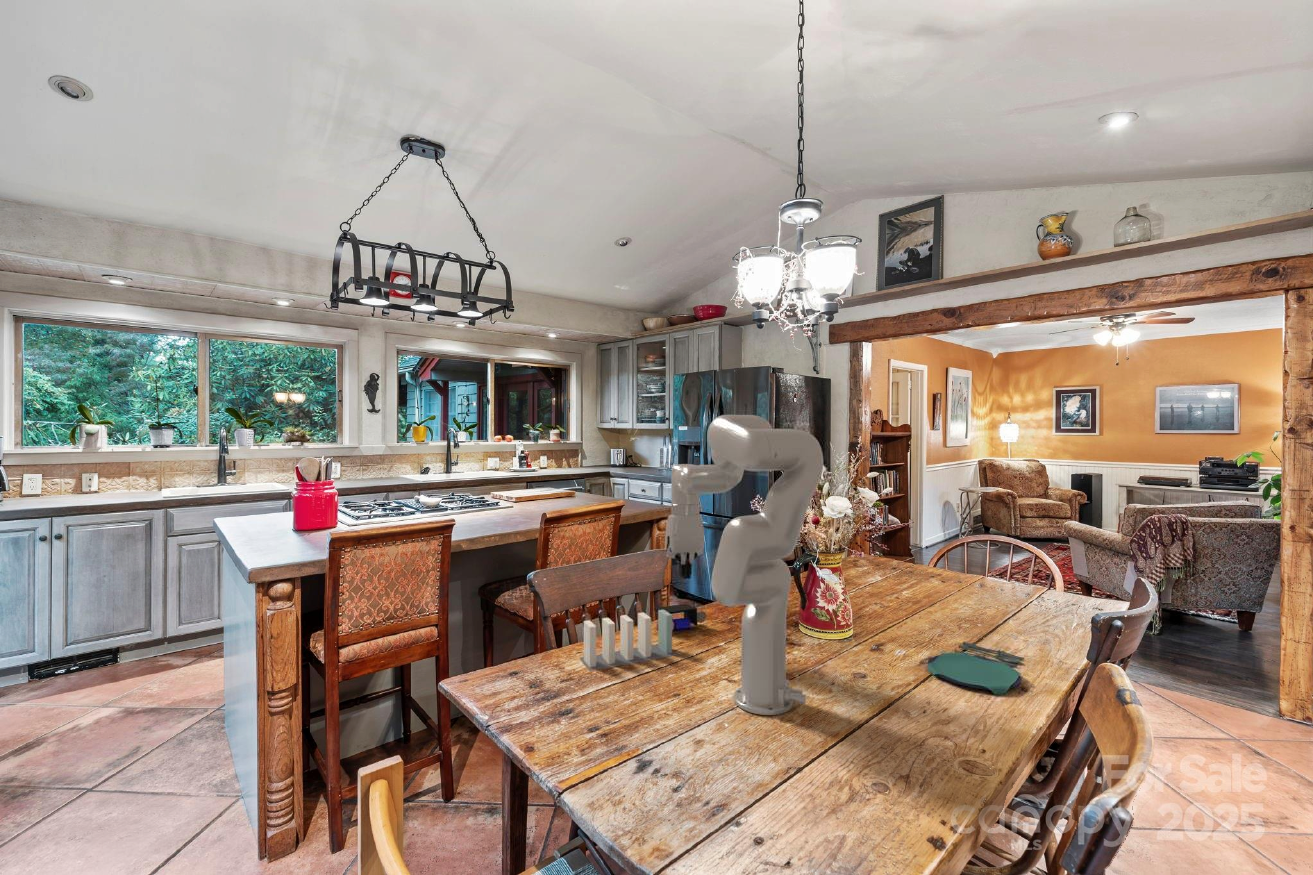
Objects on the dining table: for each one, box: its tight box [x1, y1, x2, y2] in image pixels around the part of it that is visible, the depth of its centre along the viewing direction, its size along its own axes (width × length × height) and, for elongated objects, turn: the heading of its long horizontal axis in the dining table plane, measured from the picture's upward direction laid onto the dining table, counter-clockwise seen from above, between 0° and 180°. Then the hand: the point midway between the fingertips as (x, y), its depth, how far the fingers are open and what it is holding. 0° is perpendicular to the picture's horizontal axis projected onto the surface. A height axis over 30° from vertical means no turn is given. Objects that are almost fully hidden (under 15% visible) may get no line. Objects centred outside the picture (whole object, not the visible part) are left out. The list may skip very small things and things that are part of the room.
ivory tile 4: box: [583, 620, 597, 667], centre depth 146 cm, size 2×5×10 cm, turn 25°
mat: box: [578, 643, 678, 672], centre depth 150 cm, size 24×9×1 cm, turn 115°
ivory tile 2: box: [619, 614, 634, 661], centre depth 150 cm, size 2×5×10 cm, turn 25°
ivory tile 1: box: [637, 612, 652, 657], centre depth 152 cm, size 2×5×10 cm, turn 25°
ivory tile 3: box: [601, 617, 616, 664], centre depth 148 cm, size 2×5×10 cm, turn 25°
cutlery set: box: [926, 641, 1025, 696], centre depth 143 cm, size 20×30×2 cm, turn 135°
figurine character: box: [653, 603, 707, 632], centre depth 171 cm, size 7×8×15 cm
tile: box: [657, 610, 673, 654], centre depth 154 cm, size 2×5×10 cm, turn 25°
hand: (685, 577), depth 157 cm, fingers closed
